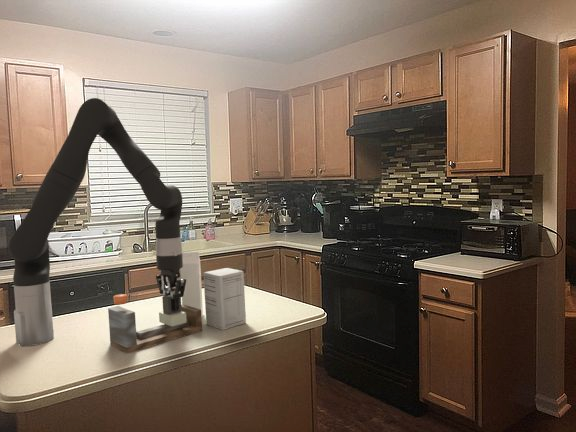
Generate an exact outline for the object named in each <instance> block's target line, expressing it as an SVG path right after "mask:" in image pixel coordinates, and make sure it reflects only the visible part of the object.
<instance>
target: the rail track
mask: <svg viewBox="0 0 576 432" xmlns="http://www.w3.org/2000/svg"><path fill="white" fill-rule="evenodd" d="M181 310H182V312H185V313H186V321H187V323H183V324H180V325H176V326H172V327H171V326H169V325H166V324H161V325H157V326H153V327H149V328H146V329H141V330H138V331H137V325H136V324H137V323H136V312H135V311H134V310H133V311H132V310H130V309H127V308H124V307H122V306H120V305H116V306H112V307H108V308H107V311H108V325H109V327H108V328H109V329H108V330H109V341H110V345H111V346H112V347H114V348H116V349H117V350H120V351H121V352H124V353H126V354H128V353H132V352H134V351H138V350H142V349H146V348H149V347H152V346H156V345H159V344H163V343H166V342H169V341H173V340H176V339H179V338H182V337H186V336H190V335H192V334H196V333H199V332H202V331H203V320H202V319H203V317H202V318H201V310H200V309H197V308H194V307H190V306H187V305H184V304H182V303H181Z"/></svg>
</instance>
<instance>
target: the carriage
mask: <svg viewBox="0 0 576 432" xmlns="http://www.w3.org/2000/svg"><path fill="white" fill-rule="evenodd" d="M161 297H162V298H161V299H162V311H159V312H158V319H159V323H160V324H162V325H164V324H166V325H169V326H171V327H172V326H176V325H180V324H183V323H187V321H186V313H185V312H182V310H181V305H182V297H180V298H179V311H175V312H173V311H172V309H171V295H168V296H163V295H162V296H161Z"/></svg>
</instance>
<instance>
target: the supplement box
mask: <svg viewBox="0 0 576 432" xmlns="http://www.w3.org/2000/svg"><path fill="white" fill-rule="evenodd" d="M244 274H245V273H244V270H239V269H236V268H235V269H234V268H230V267H224V268H219V269H214V270H209V271H205V272H203V289H204V306H205V308H204V309H205V322H206V325H208V326H210V327H212V328H216V329H219V330H221V331H224V330H228V329H230V328H234V327H237V326H241V325H243V324H246V323H247V318H246V317H247V316H246V315H247V314H246V297H245V294H246V293H245V278H244V277H245V275H244Z"/></svg>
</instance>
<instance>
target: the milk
mask: <svg viewBox="0 0 576 432" xmlns="http://www.w3.org/2000/svg"><path fill="white" fill-rule="evenodd" d="M182 259H183V267H182V268H180V269H179V272H180V277H181V278H182V279H186V285H185V290H184V295H183V297H181V305H182V304H184V305H187V306H190V307H194V308H197V309H200V310H201V318H202V319H203V316H204V310H203V309H204V308H203V306H204V305H203V289H202V270H201V268H202V267H201V258H200V252H199V251H192V252H191V251H188V252H187V251H186V252H182Z"/></svg>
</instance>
